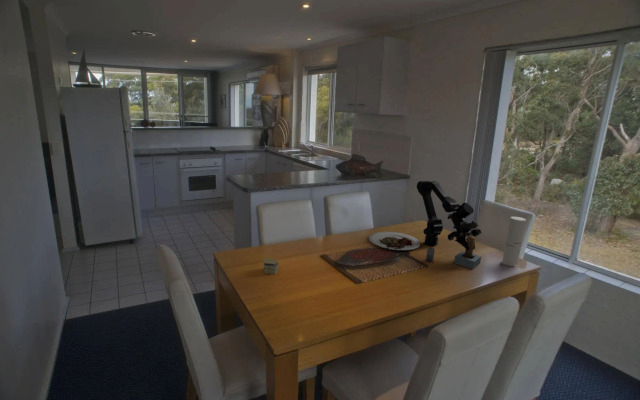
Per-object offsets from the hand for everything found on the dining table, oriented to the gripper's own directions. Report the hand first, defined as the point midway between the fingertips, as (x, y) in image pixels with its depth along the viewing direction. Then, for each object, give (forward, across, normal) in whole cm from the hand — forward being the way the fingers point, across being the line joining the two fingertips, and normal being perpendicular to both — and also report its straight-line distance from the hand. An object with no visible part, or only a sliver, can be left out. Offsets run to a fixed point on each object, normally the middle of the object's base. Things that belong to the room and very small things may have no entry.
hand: (471, 249), depth 187 cm
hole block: (+5, 0, +7) cm, 8 cm away
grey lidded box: (-9, -101, +22) cm, 103 cm away
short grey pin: (-1, -18, +13) cm, 22 cm away
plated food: (-21, -20, +33) cm, 44 cm away
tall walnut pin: (+4, 0, +6) cm, 7 cm away
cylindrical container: (+10, +23, +2) cm, 25 cm away
